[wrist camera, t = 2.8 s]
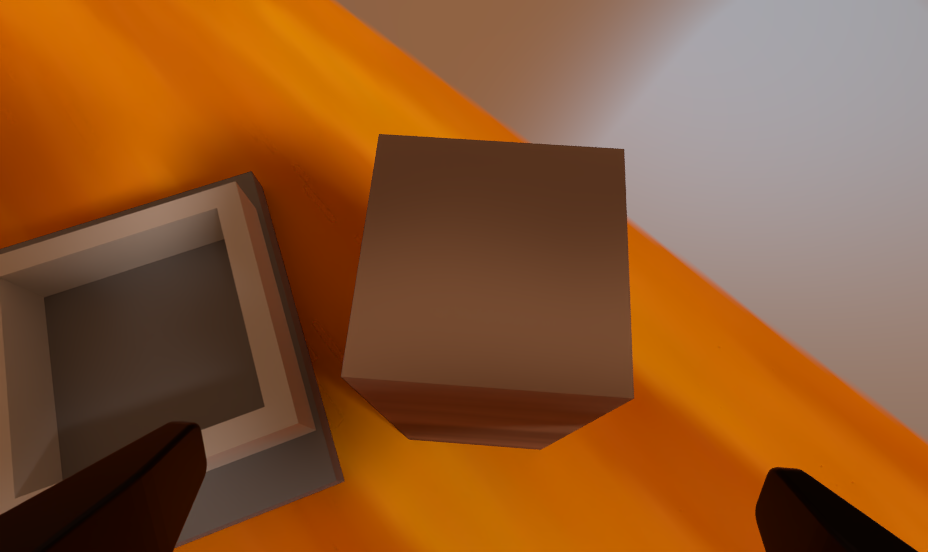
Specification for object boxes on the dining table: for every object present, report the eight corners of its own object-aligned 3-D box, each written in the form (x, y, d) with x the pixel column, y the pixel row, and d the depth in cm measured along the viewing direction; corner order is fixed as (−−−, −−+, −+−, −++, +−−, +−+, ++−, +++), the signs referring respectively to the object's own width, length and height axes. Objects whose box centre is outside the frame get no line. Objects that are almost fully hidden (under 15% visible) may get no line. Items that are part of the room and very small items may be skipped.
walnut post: (540, 449, 19) (633, 398, 8) (409, 439, 19) (340, 376, 8) (543, 322, 20) (624, 149, 10) (422, 313, 20) (379, 134, 10)
